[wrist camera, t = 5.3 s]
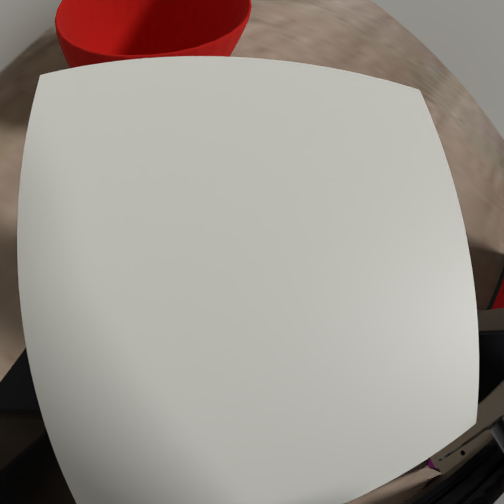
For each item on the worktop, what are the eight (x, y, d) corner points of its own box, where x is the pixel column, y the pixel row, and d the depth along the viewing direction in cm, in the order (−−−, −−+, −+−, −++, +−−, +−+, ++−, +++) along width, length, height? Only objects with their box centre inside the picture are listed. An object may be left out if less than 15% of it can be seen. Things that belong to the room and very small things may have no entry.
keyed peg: (249, 342, 15) (475, 423, 3) (151, 357, 14) (101, 548, 2) (231, 217, 16) (385, 24, 4) (134, 226, 15) (66, 2, 3)
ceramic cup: (129, 216, 21) (108, 154, 12) (62, 68, 21) (42, -11, 12) (272, 144, 25) (328, 72, 16) (183, 23, 25) (199, -52, 16)
